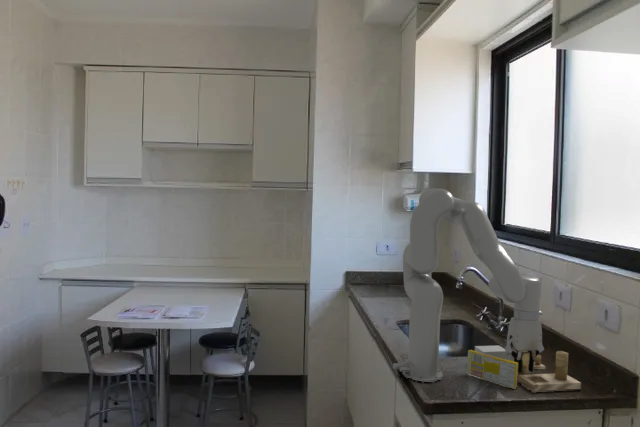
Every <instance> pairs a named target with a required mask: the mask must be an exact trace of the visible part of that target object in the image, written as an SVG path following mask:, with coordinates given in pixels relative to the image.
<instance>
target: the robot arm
mask: <svg viewBox="0 0 640 427" xmlns="http://www.w3.org/2000/svg"><path fill="white" fill-rule="evenodd" d="M441 220H443V221H445V222H448V223H451V224H454V225H457V226H459V227H461V228H462V231H463V233H464V235H465V237H466V239H467V241H468V243H469V245H470V247H471V249H472V251H473V254H474V255H475V256H476V257H477V259H478V260H479V261H481V263H482V264H483V265H484V266H486V267H487V269H488V270H489V271H490V273H491V274H492V277H491V278H490V279H489V281H488V289H489V291H490V292H491V293H492V294H493V295H494V296H495V297H497V298H499V299H502V300H503V301H505V302H506V303H510V304H514V306H513V317H511V318H510V321H509V325H508V331H507V337H506V346H505V348H504V349H505V351H507V352H508V354H510V355H511V356H512V357H513V361H514V362H518V372H521V371H522V360H520V359H521V353H522V351H528V352H530V363H529V373H530V372H531V373H533V372H534V370H533V367H534V362H535V359H536V356H537V355H540V353H542V352H543V351H545V347H544V345H543V331H542V330H543V328H542V327H543V326H542V323H541V322H542V321H541V319H540V316H542V315H543V312H542V310H540V308H541V304H540V303H541V289H542V286H541V285H542V283H541V282H542V281H541V279H540V278H538V277H535V276H532V275H531V276H530V275H521V274H520V272H519V269H518V267H517V266H516V264H515V262H514V260H512V258H511V256H509V254H508V252H507V251H506V249H505V248H504V247H503V245H502V244H501V243H500V241H499V239H498V236H497V234H496V232H495V230H494V227H493V225H492V223H491V221H490V219H489V216H488V214H487V213H486V211H485V208H484V207H483V206H482V205H481V204H480V203H479V202H476V201H470V200H464V199H461V198H457V197H455V196H453V193H451V192H450V191H448V190H447V189H445V188H428V189H426V190H424V191H423V192H422V193H421V194H420V196H419V199H418V204H417V206H416V207H415V209H414V211H413V213H412V215H411V217H410V224H409V243H408V244H407V245H406V246H405V248H404V250H403V253H402V271H403V273H402V274H403V288H404V291H405V294H406V295H407V297H408V298H409V299H410V300H411V306H410V312H409V323H408V325H409V326H408V328H409V329H408V348H407V349H408V351H407V353H408V354H407V358H405V359H404V361H403V362H401V363H398V362H397V363H395V362H394V363H393V364H392V368H393V370H399V371H400V372H402V375H403V376H404V377H405V378H406V379H408V378H413V379H417V380H424V381H434V380H439V379H441V378H442V377H444V376H443V372H442V371H441V370H440V369H439V354H440V351H439V350H440V334H441V332H440V331H441V314H442V308H443V302H444V293H443V289H442V287H441V285H440V284H439V282H437V280H435V279H434V278H432V274H433V272H434V271H436V270H437V268H438V266H439V262H440V261H439V248H438V247H439V246H438V244H439V243H438V229H439V223H440V221H441ZM512 348H513V349H512ZM442 379H443V378H442ZM442 379H441V380H442Z"/></svg>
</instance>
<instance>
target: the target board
mask: <svg viewBox="0 0 640 427" xmlns="http://www.w3.org/2000/svg"><path fill="white" fill-rule="evenodd" d="M568 365H569V352H566V351H563V350H556V352H555V367H554V373H536V374H535V373H534V374H532V373H531V374H530V373H529V375H518V376H517V383H518V382H519V383H521V384H523V385H524V386H526V387H527V388H529V389H531V390H532V391H544V390H563V389H564V390H565V389H581V390H582V382H581V381H578V380H577V379H576V378H574V377H572V376H570V375H568V369H569V368H568ZM519 383H518V384H519Z"/></svg>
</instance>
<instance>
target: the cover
mask: <svg viewBox="0 0 640 427" xmlns="http://www.w3.org/2000/svg"><path fill="white" fill-rule="evenodd" d="M474 351H477V352H481V353H484V354H488V355H492V356H495V357H499V358H503V359H507V360H509V352H507V351H505V348H504V347H502V346H501V345H475V346H474Z"/></svg>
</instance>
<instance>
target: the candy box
mask: <svg viewBox="0 0 640 427" xmlns="http://www.w3.org/2000/svg"><path fill="white" fill-rule="evenodd" d="M466 362H467V364H466V365H467V366H466V374H467V373H468V374H471V375H474V376H477V377H480V378H483V379H486V380H489V381H492V382H495V383H499V384H502V385H505V386H508V387H511V388H516V387H517V388H518V362H514V360H510V359H508V360H507V359H503V358H499V357H495V356H492V355H488V354H484V353H481V352H477V351H475V350H473V349H468V350H467V361H466Z"/></svg>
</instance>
